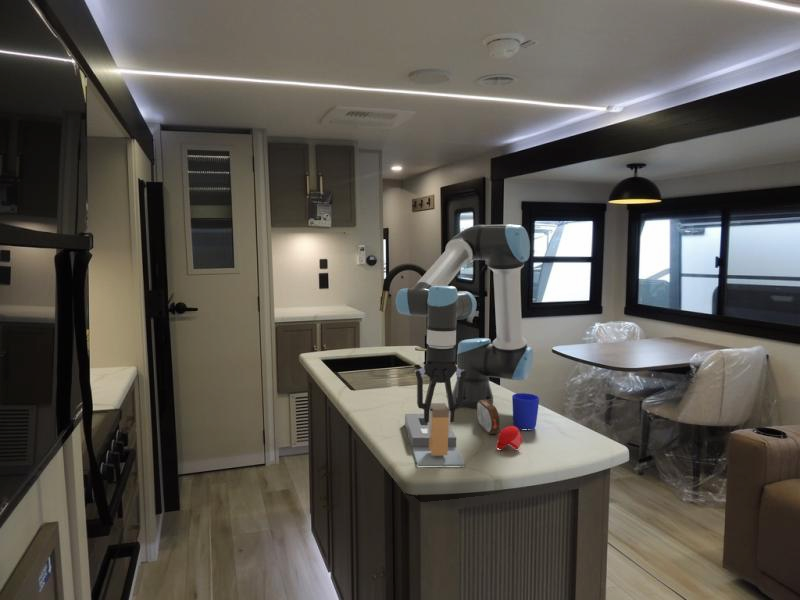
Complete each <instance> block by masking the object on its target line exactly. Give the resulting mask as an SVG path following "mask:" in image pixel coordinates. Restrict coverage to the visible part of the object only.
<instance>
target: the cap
mask: <svg viewBox="0 0 800 600" xmlns="http://www.w3.org/2000/svg"><path fill="white" fill-rule="evenodd" d="M522 442H523V436H522V433H521V432H520V429H518V428H517V427H515V426H514V425H509V426H506V427H504V428H503V429H502V430H499V433H498V435H497V443H496V449H497V448H499V449H501V450H500V451H502V450H503V449H504V448H505V447H507V446H508V445H507V444H509V446H510V447H512V448H513V449H514V450H515V449H518V448H519V449H520V446H521V444H522ZM519 449H518V450H519Z"/></svg>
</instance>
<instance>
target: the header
mask: <svg viewBox="0 0 800 600" xmlns="http://www.w3.org/2000/svg"><path fill="white" fill-rule="evenodd" d="M404 427H405V430H406V433H407V437H408V439H409V443H411V444H410V447H411V450H412V451H413V447H429V435H428V433H427V428H428V422H425V421H424V413H404ZM448 447H456V448H457V436H456V434H455V432H454V431H453V429H452V427H451V426H450V436H448Z"/></svg>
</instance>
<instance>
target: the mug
mask: <svg viewBox="0 0 800 600" xmlns="http://www.w3.org/2000/svg"><path fill="white" fill-rule="evenodd" d="M511 397H512V400H511V401H512V402H511V403H512V423H513V426H515V427H517V428H518V429H519V430H520V429H527V430H526V431H529V430H528V429H533V430H534V429H536V427H537V420H538V414H539V413H538V412H539V406H540V405H539V404H540V397H539V396H538V395H537V394H536V395H535V394H532V393H525V392H520V393H515V394H512V396H511Z"/></svg>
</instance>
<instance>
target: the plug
mask: <svg viewBox="0 0 800 600" xmlns="http://www.w3.org/2000/svg"><path fill="white" fill-rule="evenodd" d="M430 408H431V410H432V436H429V449H430V451H431V454H432V456H436V455H448V423H449V409H448V408H449V406H447V405H446V403H445V402H443V403H441V402H437V403H436V402H431V406H430Z"/></svg>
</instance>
